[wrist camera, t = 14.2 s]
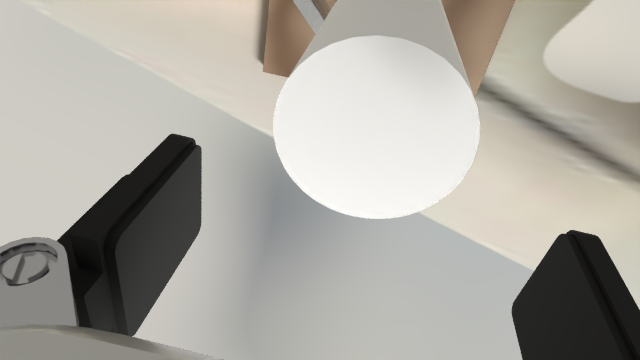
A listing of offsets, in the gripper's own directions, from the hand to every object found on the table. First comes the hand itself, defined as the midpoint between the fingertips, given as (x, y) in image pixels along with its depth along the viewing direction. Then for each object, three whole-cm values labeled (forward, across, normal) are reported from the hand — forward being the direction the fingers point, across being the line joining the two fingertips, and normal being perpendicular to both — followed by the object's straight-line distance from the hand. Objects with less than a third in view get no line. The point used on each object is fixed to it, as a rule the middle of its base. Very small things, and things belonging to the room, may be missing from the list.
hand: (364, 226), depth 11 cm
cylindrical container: (+30, 0, 0) cm, 30 cm away
